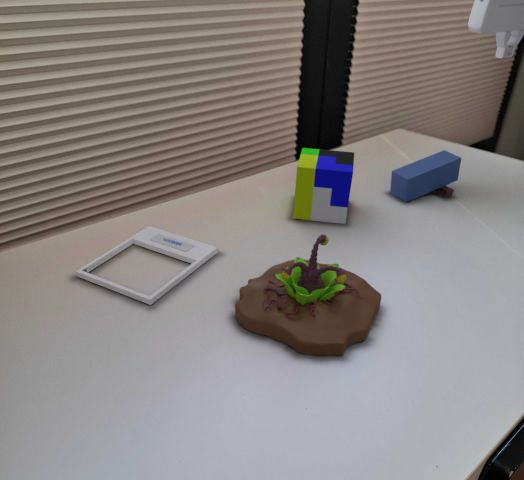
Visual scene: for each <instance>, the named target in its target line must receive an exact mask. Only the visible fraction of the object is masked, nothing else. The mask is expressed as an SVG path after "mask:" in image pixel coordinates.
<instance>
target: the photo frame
mask: <svg viewBox="0 0 524 480" xmlns="http://www.w3.org/2000/svg"><path fill="white" fill-rule="evenodd" d="M132 245H135V246H138V247H142V248H145V249H147V250H150V251H153V252H157V253H160V254H162V255H164V256H165V255H166V256H167V257H171V258H174V259H177V260H180V261H182V262H185V263H189V265H188V266H187V267H186V268H184V269H183V270H182V271H180V272H179V273H178V274H176V275H175V276H174V277H173V278H170V280H169V281H167V282H166V283H165V284H164V285H162V286H161V287H159V288H158V289H157V290H155V291H154V292H153V293H151V294H150V295H147V294H144V293H142V292H139V291H136V290H135V289H131V288H129V287H127V286H123V285H121V284H118V283H116V282H114V281H110V280H108V279H106V278H103V277H100V276H97V275H95V274H93V273H89V272H91V271H93V270H95V268H97V267H99V266H100V265H102V264H103V263H105V262H107V261H108V260H110V259H111V258H113V257H114V256H116V255H118V254H119V253H121V252H123V251H125V250H126V249H127V248H129V247H130V246H132ZM218 251H219V249H218V247H217V246H214V245H211V244H208V243H205V242H202V241H198V240H195V239H192V238H189V237H186V236H183V235H180V234H177V233H174V232H170V231H167V230H164V229H161V228H158V227H154V226H151V225H148V226H146V227H145V228H143V229H141V230H140V231H138V232H137V233H135V234H134V235H132V236H130V237H128V238H127V239H125V240H124V241H122V242H120V243H119V244H117V245H115V246H114V247H112V248H111V249H109V250H108V251H106V252H104V253H102V254H101V255H99V256H98V257H96V258H95V259H93V260H91V261H90V262H88V263H87V264H85V265H83V266H81V267H80V268H79V269H77V270H75V275H76V277H77V278H80V279H83V280H85V281H87V282H90V283H93V284H96V285H99V286H101V287H103V288H105V289H109V290H110V291H114V292H116V293H118V294H122V295H123V296H125V297H126V296H127V297H129V298H131V299H134V300H137V301H139V302H142V303H144V304H147V305H149V306H151V305H153V304H154V303H155V302H157V301H158V300H159V299H161V298H162V297H163V296H164V295H166V294H167V293H168V292H169V291H171V290H172V289H173V288H174V287H176V286H177V285H178V284H179V283H181V282H182V281H184V279H186V278H187V277H188V276H190V275H191V274H192V273H194V272H195V271H196V270H197V269H199V268H200V267H201V266H203V265H204V264H205V263H206V262H207V261H209V260H210V259H211V258H213V257H214V256H215V255H217V253H218Z"/></svg>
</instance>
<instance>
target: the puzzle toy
mask: <svg viewBox="0 0 524 480" xmlns="http://www.w3.org/2000/svg"><path fill="white" fill-rule="evenodd" d="M297 162H298V163H297V165H296V177H295V188H294V189H295V190H294V200H293V201H294V202H293V215H292V219H293V220H303V221H311V222H312V221H313V222H314V221H315V222H320V223H321V222H322V223H331V224H332V223H334V224H342V225H346V222H347V215H348V209H349V202H350V196H351V188H352V182H353V175H354V164H355V152H353V151H344V150H343V151H342V150H331V149H320V148H308V147H302V149H301V152H300V155H299V158H298V161H297Z"/></svg>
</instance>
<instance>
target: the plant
mask: <svg viewBox="0 0 524 480" xmlns="http://www.w3.org/2000/svg"><path fill="white" fill-rule="evenodd" d="M329 240H330V239H329V237H328V236H327V235H326V234H320V235H319V236H318V237H317V238H316V241H315V243H313V246H312V249H311V251H310V257H309V258H308V259H305V258H301V257H300V256H297V257H295V258H294V259H291V260H286V261H284V262H281V263H278V264H274V265H272V266H271V267H269V268H268V269H267V270H266V271H265V272H263V273H262V274H261V275H260V276H258V277H253V278H249V279H248V280H247V284H246V285H243V286H241V287H240V288H239V300H238V301H236V302H235V304H234V313H235V317H236V319H237V321H238V323H239V324H240V325H241V326H242V327H243V328H244V329H245V330H247V331H250V332H251V333H255V334H258V335H261V336H265V337H269V338H271V339H273V340H276V341H278V342H281V343H282V344H284V345H287V346H288V347H290V348H292V349H293V350H295V351H296V352H297V353H299V354H309V355H312V356H313V355H314V356H321V357H322V356H339V357H340V356H343V355H344V353H345V351H346V349H347V348H348V347H350V346H351V345H355V344H357V343H362V342H364V341H365V340H366V339H367V338H368V335H369V333H370V330H371V328H372V326H373V323H374V321H375V318H376V316H377V315H378V312H379V310H380V306H381V302H382V294H381V293H380V292H379V291H377V289H375V288H374V287H373V286H372V285H371V284H369V282H367V281H366V279H364V278H363V277H361V276H360V275H358V274H356V273H354V272H352V271H349V270H347V269H344V268H342V267H340V265H339V263H319V262H318V261H317V260H318V255H319V253H318V252H319V246H320V245H321V246H326V245H327V244H328V243H329Z"/></svg>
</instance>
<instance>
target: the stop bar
mask: <svg viewBox="0 0 524 480" xmlns="http://www.w3.org/2000/svg"><path fill="white" fill-rule="evenodd" d="M432 192H433V193H435V194H436V195H439V196H440V197H442V198H444V199H447V198H451V197H453V194H454V192H455V189H454V188H452V187H449V186H448V185H445V186H443V187H441V188H438V189H436V190H434V191H432Z"/></svg>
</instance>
